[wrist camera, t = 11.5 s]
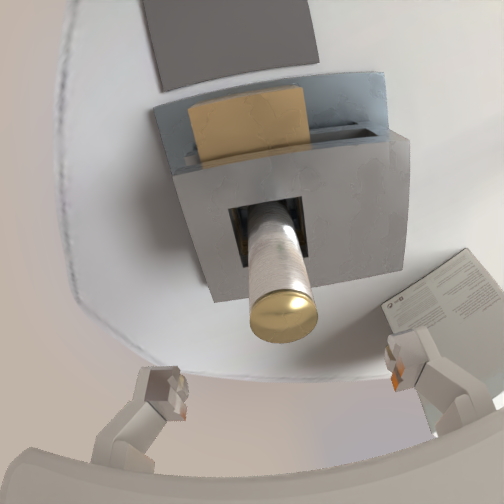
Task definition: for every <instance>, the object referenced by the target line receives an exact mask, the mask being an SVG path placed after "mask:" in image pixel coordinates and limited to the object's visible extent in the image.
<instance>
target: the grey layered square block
mask: <svg viewBox="0 0 504 504" xmlns="http://www.w3.org/2000/svg"><path fill="white" fill-rule="evenodd" d="M153 109H154V113H155V117H156V120H157V124H158V128H159V131H160V135H161V138H162V142H163V145H164V149H165V152H166V156H167V159H168V162H169V166H170V169H171V172H172V179H173V182H174V185H175V189H176V192H177V195H178V198H179V201H180V205H181V208H182V211H183V214H184V217H185V220H186V223H187V226H188V229H189V232H190V235H191V238H192V241H193V244H194V247H195V250H196V253H197V256H198V259H199V262H200V265H201V267H202V270H203V273H204V276H205V279H206V282H207V284H208V287H209V290H210V293H211V295H212V298H213V301H214V303H216V302H223V301H230V300H237V299H244V298H249V263H248V220H247V205H252V204H257V203H263V202H269V201H275V200H281V199H286V201H287V204H288V207H289V211H290V214H291V218H292V221H293V225H294V228H295V231H296V235H297V239H298V242H299V246H300V249H301V253H302V256H303V260H304V264H305V267H306V271H307V275H308V279H309V282H310V286H311V288H312V287H318V286H323V285H329V284H334V283H340V282H345V281H350V280H356V279H361V278H366V277H371V276H376V275H381V274H386V273H391V272H396V271H401V270H402V268H403V260H404V252H405V243H406V233H407V221H408V207H409V187H410V140H408V139H407V138H405V137H403V136H401V135H399V134H397V133H395V132H393V131H392V130H390V129H389V126H388V111H387V98H386V88H385V79H384V72H355V73H336V74H322V75H311V76H302V77H293V78H285V79H278V80H271V81H265V82H258V83H253V84H247V85H242V86H236V87H231V88H226V89H222V90H217V91H213V92H208V93H204V94H200V95H196V96H192V97H188V98H184V99H181V100H177V101H173V102H170V103H166V104H163V105H160V106H156V107H154V108H153Z"/></svg>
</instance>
